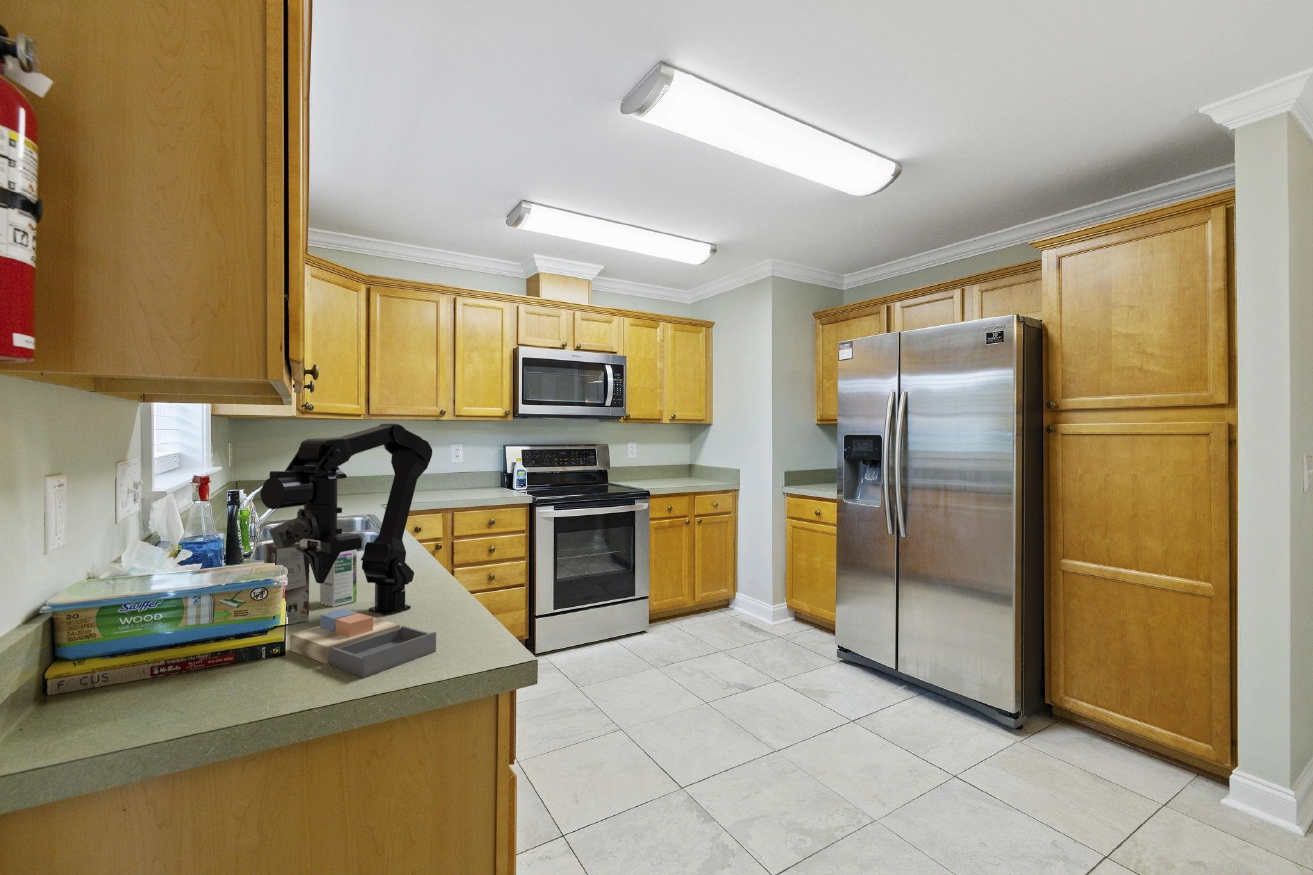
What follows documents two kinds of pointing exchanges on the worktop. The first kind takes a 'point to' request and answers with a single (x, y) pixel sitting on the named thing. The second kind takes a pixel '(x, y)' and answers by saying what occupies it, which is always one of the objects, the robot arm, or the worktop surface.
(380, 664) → the charcoal tray
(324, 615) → the blue-glazed tile
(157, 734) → the worktop surface
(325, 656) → the birch board
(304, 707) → the worktop surface
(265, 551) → the coffee box
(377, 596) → the robot arm
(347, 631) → the terracotta tile
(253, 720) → the worktop surface
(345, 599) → the syrup box
